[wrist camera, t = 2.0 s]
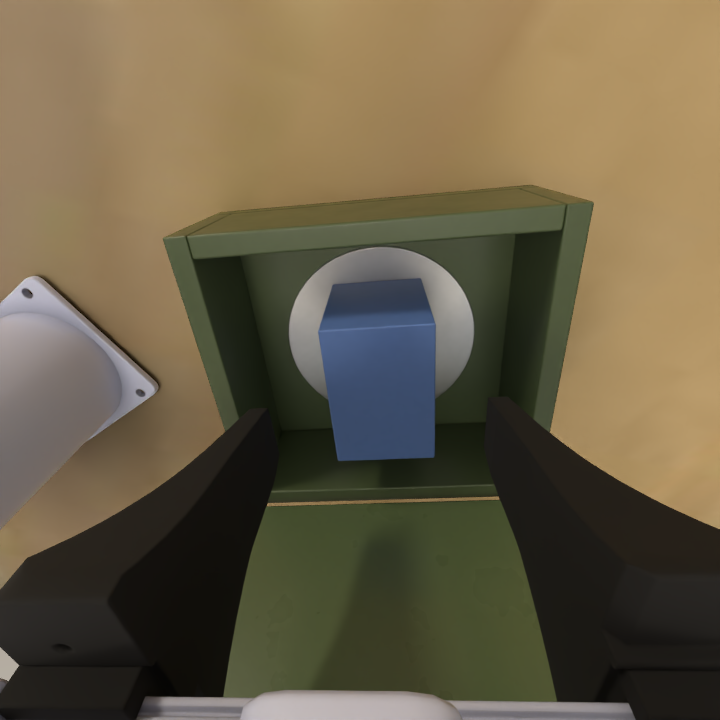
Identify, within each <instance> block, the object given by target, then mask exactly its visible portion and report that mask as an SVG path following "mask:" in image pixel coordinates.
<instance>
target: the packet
mask: <svg viewBox="0 0 720 720" xmlns="http://www.w3.org/2000/svg"><path fill="white" fill-rule="evenodd" d="M318 335H319V342H320V348H321V355H322V361H323V368H324V374H325V381H326V387H327V394H328V400H329V407H330V413H331V420H332V427H333V433H334V440H335V446H336V453H337V459H338V461H355V460H382V459H409V458H433V457H434V456H435V366H436V323H435V320H434V317H433V314H432V311H431V308H430V305H429V301H428V298H427V295H426V292H425V289H424V286H423V283H422V280H421V278H416V279H402V280H388V281H374V282H361V283H347V284H334V285H332V289H331V292H330V295H329V298H328V301H327V305H326V308H325V311H324V314H323V317H322V321H321V324H320V327H319V330H318Z"/></svg>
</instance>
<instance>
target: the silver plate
mask: <svg viewBox="0 0 720 720" xmlns="http://www.w3.org/2000/svg"><path fill="white" fill-rule="evenodd" d="M416 278H421V280H422V283H423V286H424V289H425V292H426V295H427V298H428V301H429V305H430V308H431V311H432V314H433V317H434V320H435V323H436V366H435V399H436V398H437V397H439V396H440V395H441V394H443V393H444V392H445V391H446V390H447V389H448V388H449V387H450V386H452V385H453V383H454V382H455V381H456V380H457V379H458V377H459V376H460V375H461V373H462V371H463V370H464V368H465V366H466V364H467V362H468V360H469V357H470V355H471V351H472V348H473V342H474V335H475V331H474V318H473V312H472V309H471V306H470V303H469V300H468V298H467V296H466V294H465V292H464V290H463V288H462V287H461V286H460V284H459V283H458V281H457V280H456V279H455V277H454V276H453V275H452V274H451V273H450V272H449V271H448V270H447V269H446V268H444V267H443V266H442V265H441V264H439V263H438V262H436V261H435V260H433V259H431V258H430V257H428V256H426V255H424V254H421V253H419V252H417V251H414V250H410V249H406V248H403V247H396V246H388V245H385V246H368V247H361V248H358V249H354V250H351V251H347V252H345V253H343V254H341V255H338V256H336V257H334V258H333V259H331V260H329V261H328V262H326V263H325V264H323V265H322V266H321V267H320V268H318V269H317V270H316V271H315V272H314V273H313V274H312V275H311V276H310V277H309V278H308V280H307V281H306V282H305V284H304V285H303V287H302V288H301V289H300V291H299V293H298V295H297V297H296V299H295V301H294V304H293V307H292V310H291V313H290V319H289V331H288V336H289V344H290V349H291V352H292V356H293V358H294V361H295V363H296V366H297V367H298V369H299V371H300V372H301V374H302V376H303V377H304V378H305V380H306V381H307V382H308V383H309V384H310V385H311V386H312V387H313V388H314V389H315V390H316V391H317V392H318V393H319V394H321V395H322V396H323V397H324V398H326V399H328V394H327V387H326V381H325V374H324V368H323V361H322V355H321V348H320V342H319V335H318V330H319V327H320V324H321V321H322V317H323V314H324V311H325V308H326V305H327V301H328V298H329V295H330V292H331V289H332V285H334V284H347V283H361V282H374V281H388V280H402V279H416Z"/></svg>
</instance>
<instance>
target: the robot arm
mask: <svg viewBox="0 0 720 720" xmlns="http://www.w3.org/2000/svg"><path fill="white" fill-rule="evenodd" d="M28 289H29V290H30V291H31V292H32V293H33V295H32V294H30V292H29V291H28ZM158 388H159V387H158V384H157V383H156V381H154V380H153V379H152V378H151V377H150V376H149V375H148V374H147V373H146V372H145V371H143V370H142V369H141V368H140V367H139V366H138V365H137V364H136V363H135V362H134V361H133V360H131V359H130V358H129V357H128V356H127V355H126V354H125V353H124V352H123V351H122V350H120V349H119V348H118V347H117V346H116V345H115V344H114V343H113V342H112V341H111V340H109V339H108V338H107V337H106V336H105V335H104V334H103V333H102V332H101V331H100V330H98V329H97V328H96V327H95V326H94V325H93V324H92V323H91V322H90V321H89V320H88V319H86V318H85V317H84V316H83V315H82V314H81V313H80V312H79V311H78V310H77V309H75V308H74V307H73V306H72V305H71V304H70V303H69V302H68V301H67V300H66V299H64V298H63V297H62V296H61V295H60V294H59V293H58V292H57V291H56V290H55V289H53V288H52V287H51V286H50V285H49V284H48V283H47V282H46V281H45V280H43V279H42V278H41V277H38V276H31V277H28V278H26V279H24V280H23V281H22V282H21V283H20V284H19V285H18V286H17V287H16V288H15V289H14V290H13V291H12V292H11V293H10V294H9V295H8V296H7V297H6V298H5V299H4V300H3V301H2V302H1V303H0V530H1V528H2V527H3V526H4V525H5V524H6V523H7V522H8V521H9V520H10V519H11V518H12V517H13V516H14V515H15V514H16V513H17V512H18V511H19V510H20V509H21V508H22V507H23V506H24V505H25V504H26V503H27V502H28V501H29V500H30V499H31V498H32V497H33V496H34V495H35V494H36V493H37V491H38V490H39V489H40V488H41V487H42V486H43V485H44V484H45V483H46V482H47V481H48V480H49V479H50V478H51V477H52V476H53V475H54V474H55V473H56V472H57V471H58V470H59V469H60V468H61V467H62V466H63V465H64V464H65V463H66V462H67V461H68V460H69V459H70V458H71V457H72V455H73V454H74V453H75V452H76V451H77V450H78V449H79V448H80V447H81V446H82V445H83V444H84V443H85V442H87V441H88V440H90V439H91V438H92V437H94V436H95V435H97V434H98V433H100V432H101V431H102V430H104V429H105V428H107V427H108V426H110V425H111V424H113V423H114V422H115V421H117V420H118V419H120V418H121V417H123V416H124V415H125V414H127V413H128V412H130V411H131V410H133V409H134V408H135V407H137V406H138V405H140V404H141V403H143V402H144V401H146V400H147V399H148V398H150V397H151V396H153V395H154V394H155V393H156V392H157V390H158ZM140 389H141V390H143V391H144V392H145V393H143V392H141V390H140ZM484 450H485V454H486V458H487V463H488V466H489V470H490V474H491V477H492V480H493V482H494V485H495V488H496V490H497V493H498V496H499V498H500V501H501V503H502V506H503V508H504V511H505V513H506V516H507V519H508V521H509V524H510V526H511V529H512V531H513V534H514V537H515V539H516V542H517V545H518V548H519V551H520V554H521V558H522V561H523V565H524V569H525V572H526V576H527V579H528V583H529V587H530V590H531V594H532V598H533V602H534V606H535V610H536V613H537V617H538V621H539V625H540V629H541V634H542V638H543V642H544V646H545V650H546V654H547V658H548V663H549V667H550V672H551V676H552V680H553V685H554V689H555V694H556V698H557V702H526V701H451V700H443V699H441V698H439V697H437V696H435V695H431V694H424V693H416V692H409V691H336V690H282V691H273V692H265V693H262V694H260V695H259V696H257V697H255V698H225V697H223V696H224V689H225V683H226V676H227V670H228V664H229V658H230V652H231V647H232V641H233V636H234V630H235V625H236V619H237V614H238V609H239V605H240V600H241V595H242V590H243V585H244V581H245V576H246V572H247V568H248V563H249V559H250V555H251V552H252V548H253V545H254V542H255V539H256V536H257V533H258V530H259V527H260V524H261V521H262V518H263V515H264V512H265V509H266V506H267V503H268V500H269V497H270V494H271V491H272V488H273V485H274V481H275V476H276V471H277V466H278V460H279V455H280V454H279V450H278V446H277V442H276V438H275V434H274V430H273V426H272V422H271V418H270V414H269V410H268V408H256V409H250V410H248V411H247V412H246V413H245V414H244V415H243V416H242V417H241V418H240V419H238V420H237V421H236V422H235V423H234V424H233V425H232V426H231V427H230V428H229V429H228V430H227V431H226V432H225V433H224V434H223V435H221V436H220V437H219V438H218V439H217V440H216V441H215V442H214V443H213V444H212V445H211V446H210V447H208V448H207V449H206V450H205V451H204V452H203V453H201V454H200V455H199V456H198V457H197V458H195V459H194V460H193V461H192V462H191V463H190V464H188V465H187V466H186V467H185V468H184V469H182V470H181V471H180V472H178V473H177V474H176V475H174V476H173V477H172V478H170V479H169V480H168V481H166V482H165V483H163V484H162V485H161V486H159V487H158V488H156V489H155V490H154V491H152V492H151V493H149V494H147V495H146V496H144V497H143V498H141V499H139V500H138V501H136V502H135V503H133V504H132V505H130V506H128V507H127V508H125V509H124V510H122V511H120V512H119V513H117V514H115V515H113V516H112V517H110V518H108V519H106V520H104V521H103V522H101V523H99V524H97V525H95V526H93V527H91V528H89V529H88V530H86V531H84V532H82V533H80V534H78V535H76V536H74V537H72V538H70V539H68V540H65V541H63V542H61V543H59V544H57V545H55V546H53V547H50V548H48V549H46V550H44V551H42V552H40V553H38V554H35V555H33V556H31V557H28V558H27V559H26V560H25V561H24V562H23V564H22V565H21V566H20V567H19V568H18V569H17V571H16V572H15V573H14V574H13V575H12V577H11V578H10V579H9V580H8V581H7V582H6V584H5V585H4V586H3V587H2V588H1V590H0V647H1V648H2V649H3V650H4V651H5V652H6V653H7V654H8V655H9V656H10V657H11V658H12V659H14V660H15V662H16V663H18V664H19V667H18V668H17V670H16V671H15V673H14V674H13V675H12V677H11V679H10V680H9V681H7V680H4V679H1V678H0V720H720V529H717V528H715V527H712V526H710V525H707V524H705V523H703V522H700V521H698V520H696V519H694V518H692V517H689V516H687V515H685V514H683V513H681V512H678V511H676V510H674V509H672V508H670V507H668V506H666V505H664V504H662V503H660V502H658V501H656V500H654V499H652V498H650V497H648V496H646V495H644V494H642V493H640V492H639V491H637V490H635V489H633V488H631V487H629V486H627V485H626V484H624V483H622V482H620V481H619V480H617V479H615V478H614V477H612V476H610V475H609V474H607V473H606V472H604V471H602V470H601V469H599V468H598V467H596V466H594V465H593V464H591V463H590V462H588V461H587V460H585V459H584V458H582V457H581V456H580V455H578V454H577V453H576V452H574V451H573V450H571V449H570V448H569V447H567V446H566V445H565V444H563V443H562V442H561V441H559V440H558V439H557V438H556V437H554V436H553V435H552V434H551V433H549V432H548V431H547V430H546V429H544V428H543V427H542V426H541V425H540V424H538V423H537V422H536V421H535V420H534V419H533V418H532V417H530V416H529V415H528V414H527V413H526V412H525V411H524V410H522V409H521V408H520V407H519V406H518V405H517V404H516V403H515V402H513V401H512V400H511V399H510V398H509V397H488V403H487V415H486V426H485V438H484Z"/></svg>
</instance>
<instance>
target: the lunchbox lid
mask: <svg viewBox="0 0 720 720" xmlns="http://www.w3.org/2000/svg"><path fill="white" fill-rule="evenodd" d="M282 690H336V691H409V692H416V693H424V694H431V695H435V696H437V697H439V698H441V699H443V700H451V701H526V702H557V698H556V694H555V689H554V685H553V680H552V676H551V672H550V667H549V663H548V658H547V654H546V650H545V646H544V642H543V638H542V634H541V629H540V625H539V621H538V617H537V613H536V610H535V606H534V602H533V598H532V594H531V590H530V587H529V583H528V579H527V576H526V572H525V569H524V565H523V561H522V558H521V554H520V551H519V548H518V545H517V542H516V539H515V537H514V534H513V531H512V529H511V526H510V524H509V521H508V519H507V516H506V513H505V511H504V508H503V506H502V503H501V501H500V500H479V501H444V502H409V503H373V504H338V505H303V506H267V507H266V509H265V512H264V515H263V518H262V521H261V524H260V527H259V530H258V533H257V536H256V539H255V542H254V545H253V548H252V552H251V555H250V559H249V563H248V568H247V572H246V576H245V581H244V585H243V590H242V595H241V600H240V605H239V609H238V614H237V619H236V625H235V630H234V636H233V641H232V647H231V652H230V658H229V664H228V670H227V676H226V683H225V689H224V696H223V697H225V698H255V697H257V696H259V695H260V694H262V693H265V692H273V691H282Z"/></svg>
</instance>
